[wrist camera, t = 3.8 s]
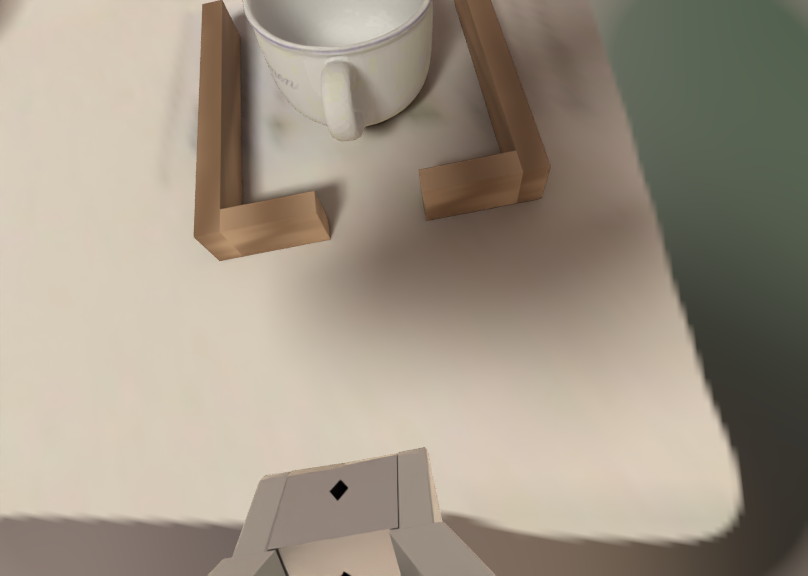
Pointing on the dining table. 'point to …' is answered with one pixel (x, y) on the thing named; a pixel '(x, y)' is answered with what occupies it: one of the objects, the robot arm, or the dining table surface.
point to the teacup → (345, 56)
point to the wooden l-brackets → (303, 213)
